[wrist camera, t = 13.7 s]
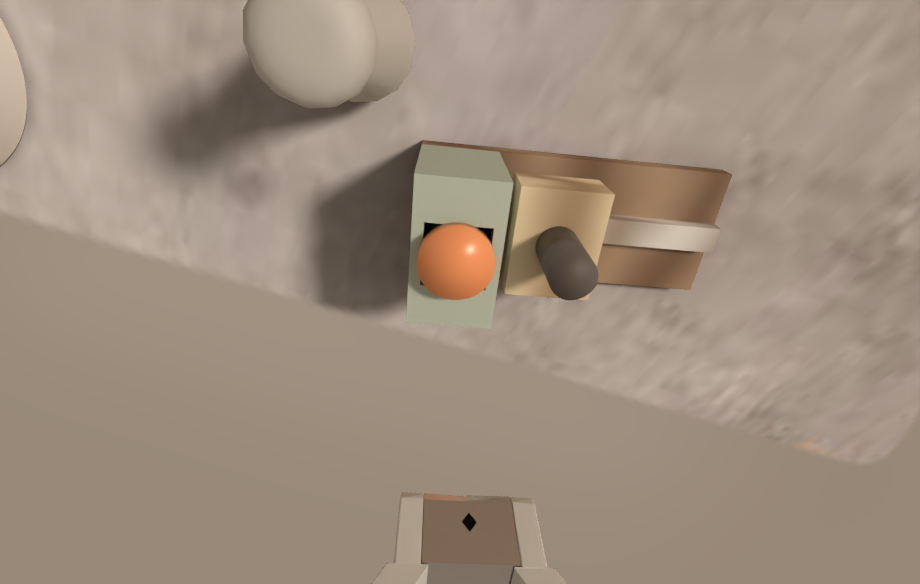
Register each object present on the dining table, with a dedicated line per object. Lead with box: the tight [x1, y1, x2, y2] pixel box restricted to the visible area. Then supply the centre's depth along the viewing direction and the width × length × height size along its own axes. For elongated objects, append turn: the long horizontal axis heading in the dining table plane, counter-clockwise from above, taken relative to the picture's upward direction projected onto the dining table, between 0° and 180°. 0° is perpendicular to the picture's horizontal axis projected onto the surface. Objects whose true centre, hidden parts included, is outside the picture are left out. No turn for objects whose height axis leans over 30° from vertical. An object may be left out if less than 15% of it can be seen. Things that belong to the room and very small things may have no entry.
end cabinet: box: [406, 144, 514, 329], centre depth 27 cm, size 5×8×7 cm, turn 174°
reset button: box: [417, 222, 496, 300], centre depth 25 cm, size 4×4×5 cm
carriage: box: [500, 172, 615, 300], centre depth 26 cm, size 5×6×7 cm
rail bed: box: [422, 140, 732, 290], centre depth 31 cm, size 19×8×2 cm, turn 84°
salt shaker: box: [243, 0, 415, 108], centre depth 21 cm, size 6×6×13 cm
